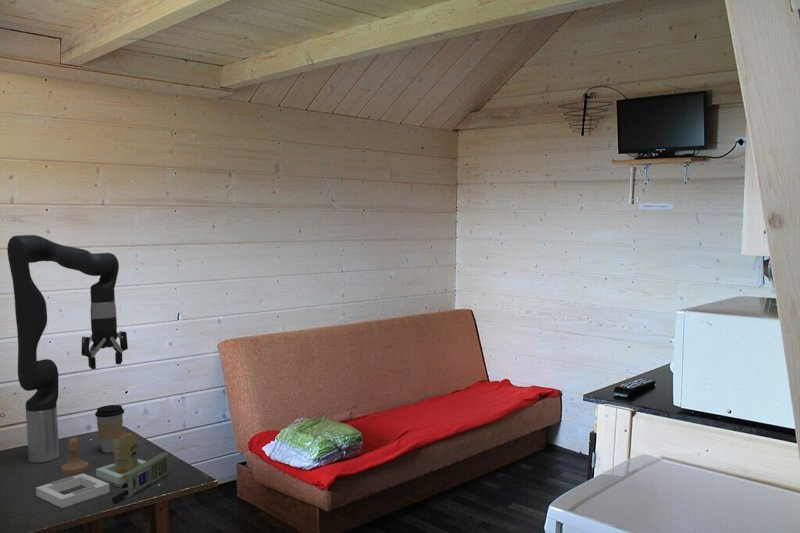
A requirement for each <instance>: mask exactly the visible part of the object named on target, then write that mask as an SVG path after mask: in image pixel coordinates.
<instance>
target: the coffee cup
mask: <svg viewBox="0 0 800 533" xmlns="http://www.w3.org/2000/svg"><path fill="white" fill-rule="evenodd" d="M96 410H97V411H96V412H95V414H94V415H95V417H96V421H97V422H96V425H97V431H98V438H99V441H100V447H101V451H102V453H104V452H105V454H109V453H110V452H112V453H114V437H116V436H117V435H119V434H121V433H123V424H124V423H123V422H124V420H123V414H124V413H125V409H124V408H123V406H122V405H121V404H108V405H103V406H100V407H98V408H97V409H96ZM110 454H111V453H110Z"/></svg>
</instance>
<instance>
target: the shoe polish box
mask: <svg viewBox="0 0 800 533" xmlns="http://www.w3.org/2000/svg"><path fill="white" fill-rule="evenodd" d="M137 435H138V433H137V432H122V433H121V434H119V435H117V436H116V437H114V452H113V453H114V463H115V472H116V473H119V474H124V473H126V472H128V471H130V470H131V469H133V468H135V467H137V466H138V459H139V456H138V454H139V453H138V438H137V437H138V436H137Z"/></svg>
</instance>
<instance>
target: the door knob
mask: <svg viewBox="0 0 800 533" xmlns="http://www.w3.org/2000/svg"><path fill="white" fill-rule="evenodd" d="M67 448H68V449H69V451H70V452H69V453H68V455H69V459H68V461H67V462H66V463H65V464H63V465H62V466H60V471H61V473H63V474H66V475H67V474H78V473H81V472H84V471H87V470H88V469H89V467H90V466H89V464H90V463H89V462H88V461H84V460H83V459H81V457H80V455H79V454H80V451H78V450H79V448H80V439H79V437H70V439H69V440H68V445H67ZM77 472H78V473H77Z"/></svg>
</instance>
